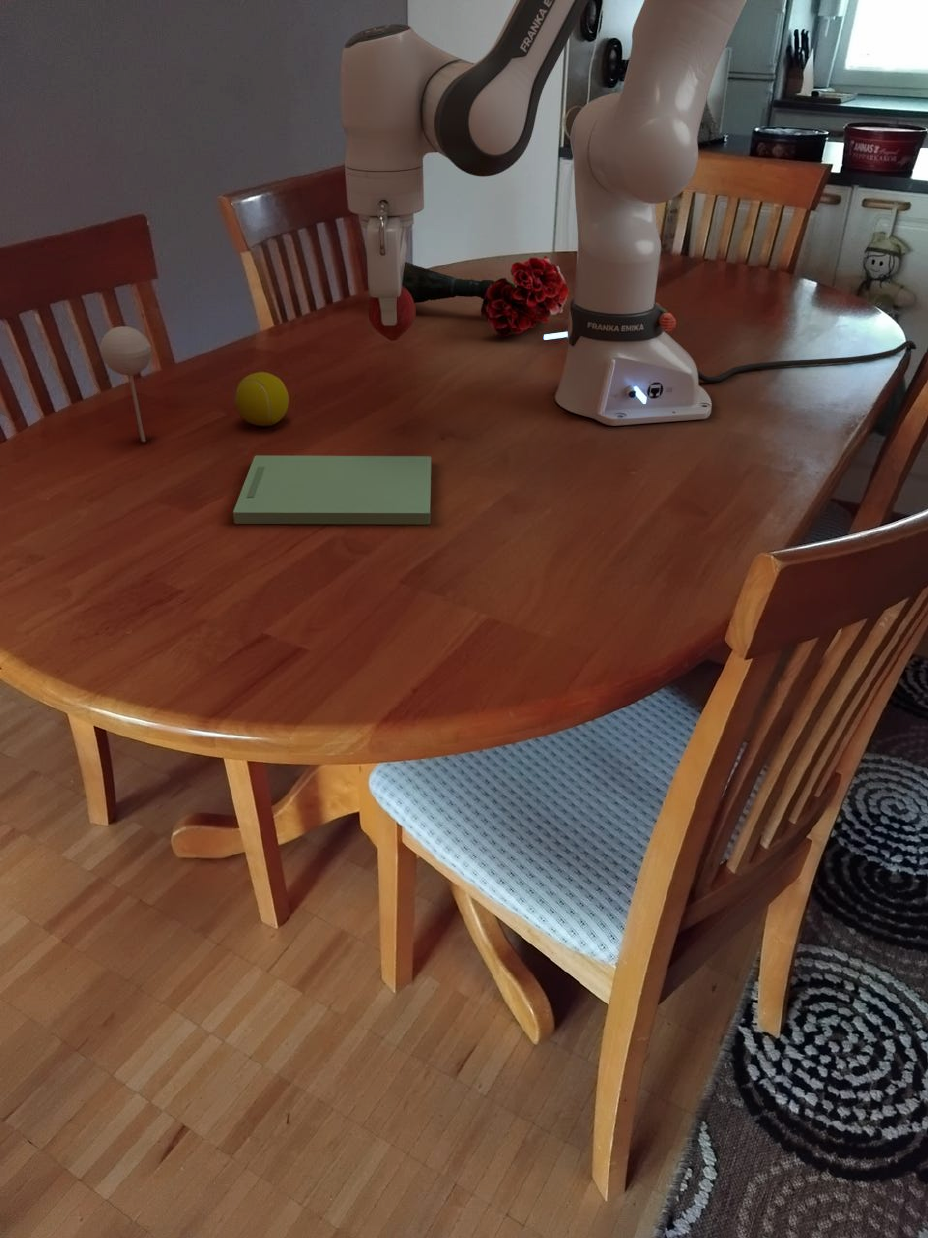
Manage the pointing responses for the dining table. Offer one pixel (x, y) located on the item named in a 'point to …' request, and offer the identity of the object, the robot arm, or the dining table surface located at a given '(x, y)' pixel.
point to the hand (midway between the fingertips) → (391, 314)
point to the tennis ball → (262, 399)
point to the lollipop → (127, 357)
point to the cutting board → (336, 490)
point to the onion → (403, 316)
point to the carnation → (498, 293)
